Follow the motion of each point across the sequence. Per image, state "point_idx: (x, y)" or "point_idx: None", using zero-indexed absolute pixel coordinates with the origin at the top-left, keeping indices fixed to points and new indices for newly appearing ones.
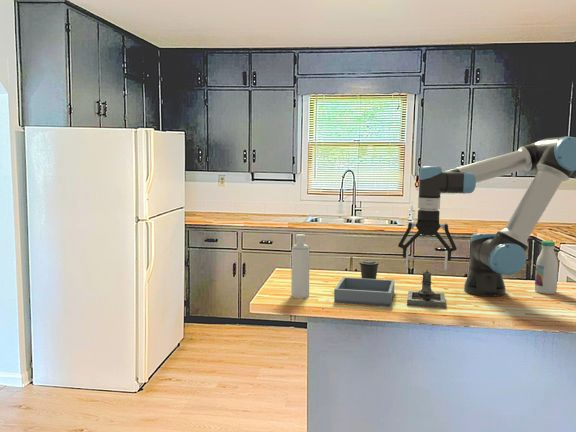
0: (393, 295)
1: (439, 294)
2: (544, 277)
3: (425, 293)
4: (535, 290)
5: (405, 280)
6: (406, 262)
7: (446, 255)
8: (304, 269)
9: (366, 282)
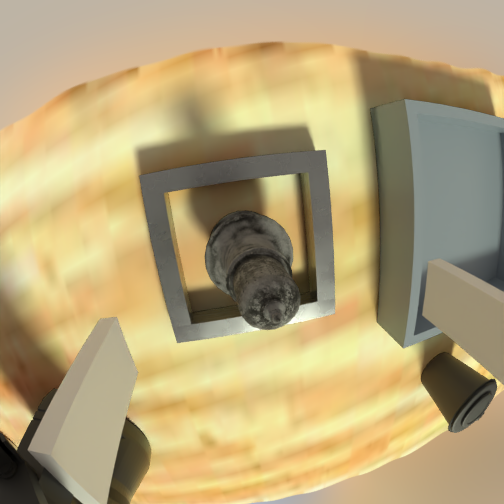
0: (379, 284)
1: (194, 322)
2: None
3: (249, 221)
4: (15, 447)
5: (336, 455)
6: (463, 273)
7: (54, 418)
8: None
9: None
